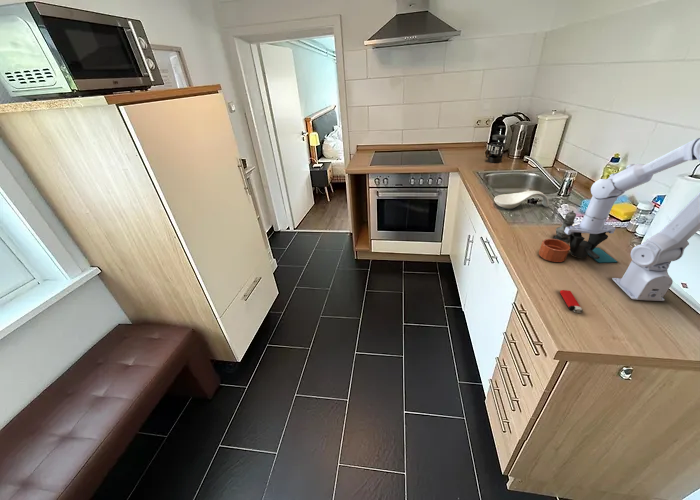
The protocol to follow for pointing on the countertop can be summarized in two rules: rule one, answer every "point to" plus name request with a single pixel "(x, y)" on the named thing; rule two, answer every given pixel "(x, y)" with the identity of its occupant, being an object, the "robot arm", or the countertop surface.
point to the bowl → (554, 250)
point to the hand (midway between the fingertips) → (580, 251)
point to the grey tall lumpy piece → (566, 223)
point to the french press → (496, 158)
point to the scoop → (584, 250)
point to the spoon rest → (518, 199)
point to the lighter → (571, 301)
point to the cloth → (603, 256)
